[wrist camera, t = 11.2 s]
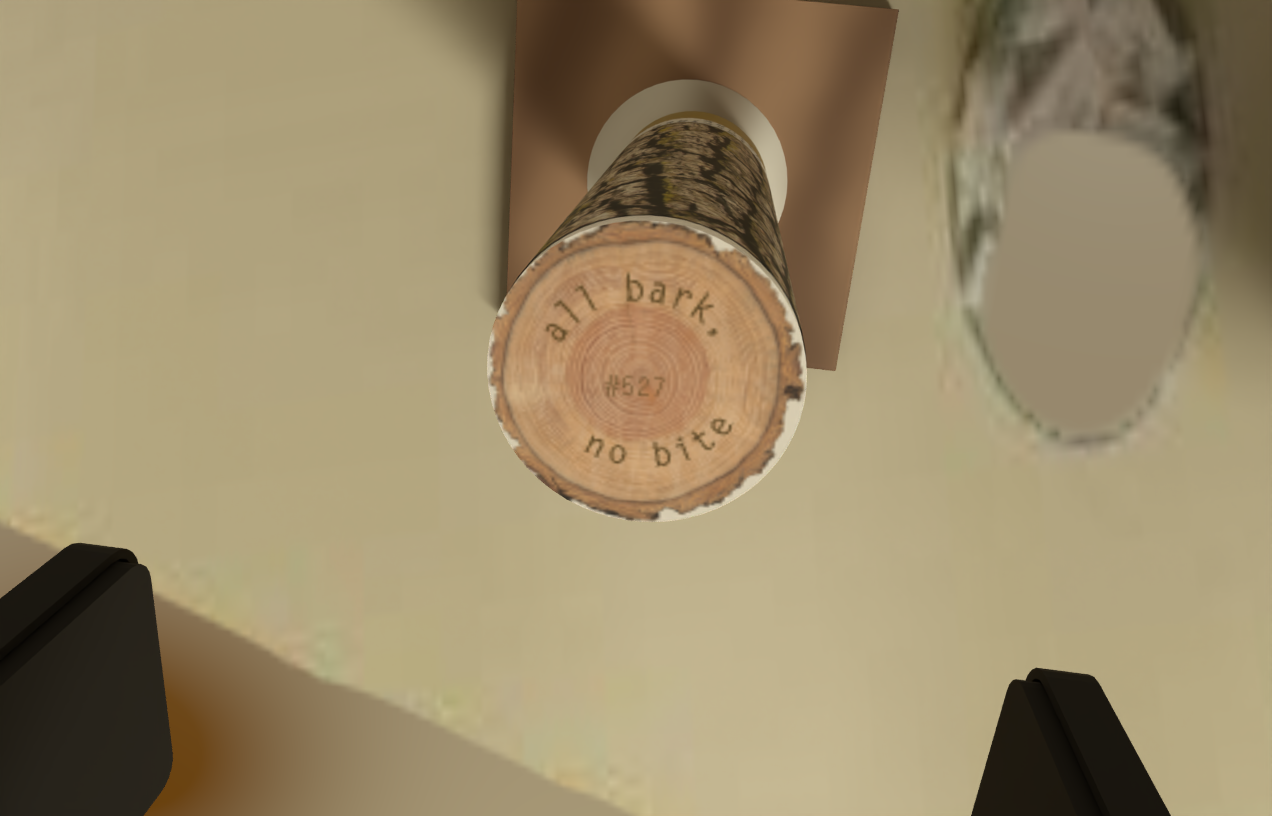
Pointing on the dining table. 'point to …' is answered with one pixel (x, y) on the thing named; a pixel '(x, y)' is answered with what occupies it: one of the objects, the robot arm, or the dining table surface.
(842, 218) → the board
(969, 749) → the dining table surface
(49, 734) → the robot arm
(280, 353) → the dining table surface
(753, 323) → the bark print can
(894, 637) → the dining table surface
